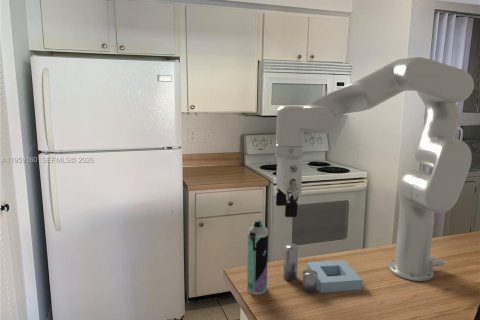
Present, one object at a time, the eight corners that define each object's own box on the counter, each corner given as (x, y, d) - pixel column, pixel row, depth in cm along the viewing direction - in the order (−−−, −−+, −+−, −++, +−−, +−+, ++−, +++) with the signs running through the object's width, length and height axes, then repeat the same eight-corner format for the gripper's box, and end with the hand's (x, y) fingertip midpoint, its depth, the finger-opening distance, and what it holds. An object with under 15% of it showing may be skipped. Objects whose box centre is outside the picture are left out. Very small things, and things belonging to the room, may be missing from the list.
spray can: (265, 295, 99) (267, 225, 95) (245, 293, 100) (246, 223, 96) (267, 285, 104) (269, 218, 100) (248, 283, 105) (249, 216, 101)
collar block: (343, 269, 114) (344, 260, 113) (361, 289, 102) (362, 279, 102) (306, 271, 112) (306, 262, 112) (320, 292, 101) (321, 282, 100)
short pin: (313, 285, 104) (314, 269, 104) (318, 293, 101) (319, 276, 100) (300, 286, 104) (300, 270, 103) (304, 294, 100) (305, 277, 99)
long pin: (294, 273, 111) (296, 242, 109) (298, 280, 107) (300, 248, 105) (281, 274, 110) (282, 243, 108) (285, 281, 106) (286, 249, 104)
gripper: (312, 157, 93) (308, 221, 96) (293, 146, 110) (290, 201, 113) (284, 157, 92) (280, 222, 95) (268, 146, 109) (266, 201, 112)
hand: (285, 210), depth 104 cm, fingers open, 9 cm apart
